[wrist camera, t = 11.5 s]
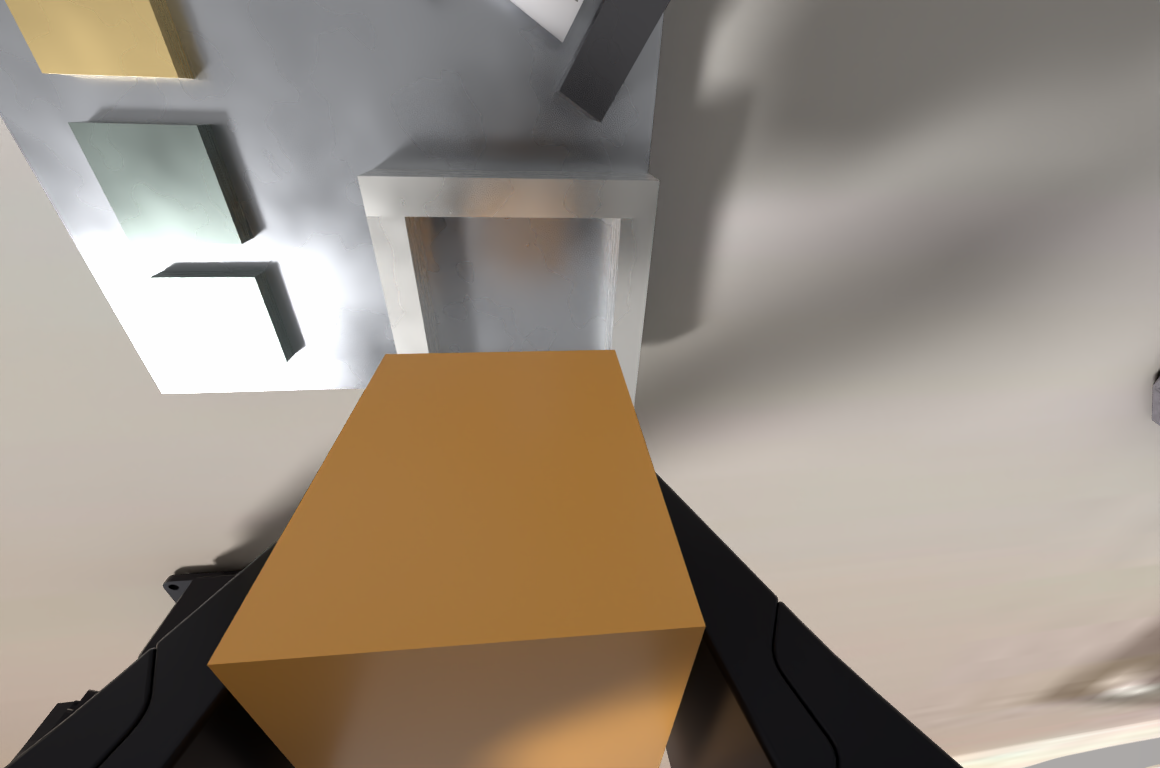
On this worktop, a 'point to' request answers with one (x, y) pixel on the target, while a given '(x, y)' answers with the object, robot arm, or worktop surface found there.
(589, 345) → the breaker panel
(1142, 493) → the worktop surface
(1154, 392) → the small grey backpack
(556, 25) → the block
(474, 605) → the orange cube
